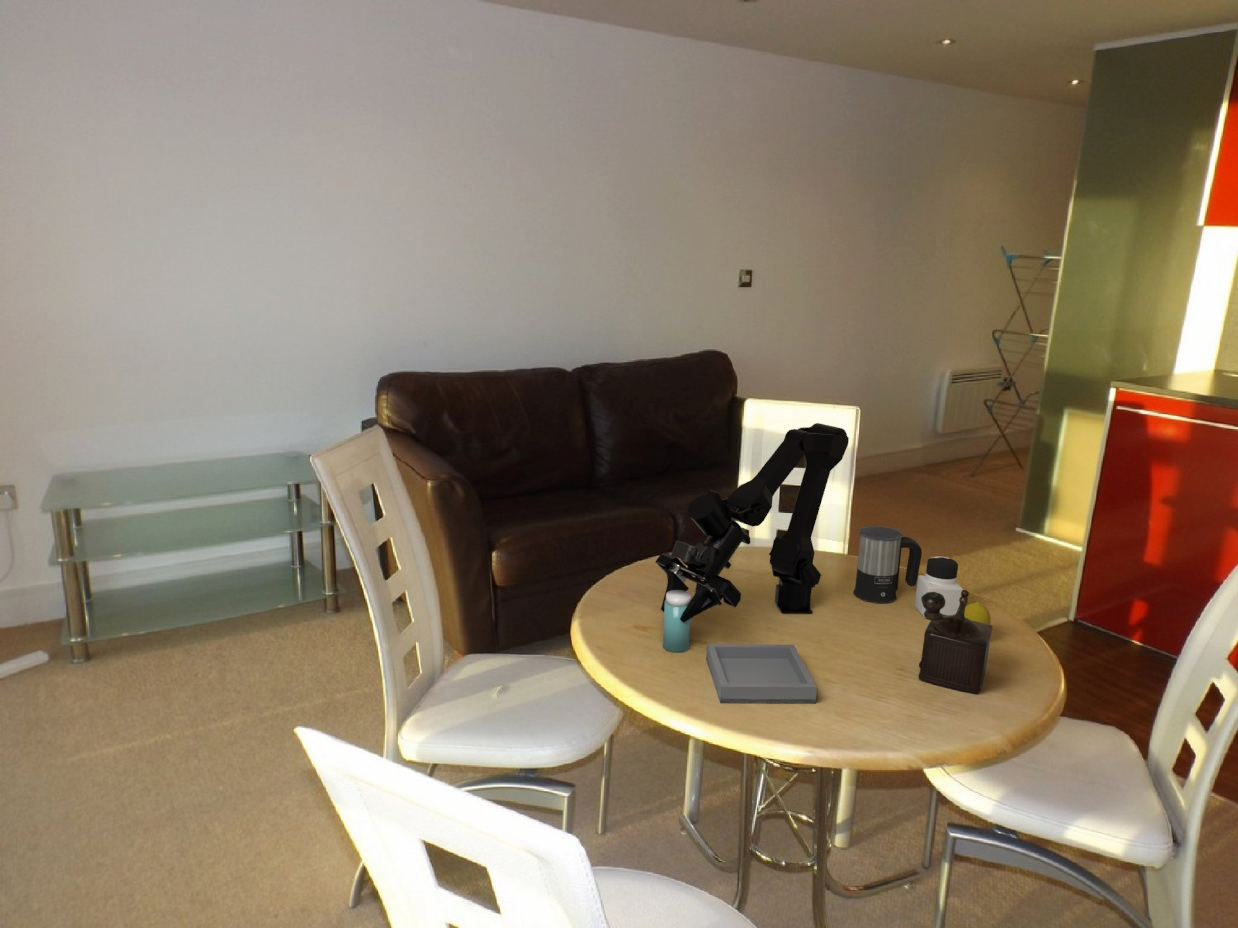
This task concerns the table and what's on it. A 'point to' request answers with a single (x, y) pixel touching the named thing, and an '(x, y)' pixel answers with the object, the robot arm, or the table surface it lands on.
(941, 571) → the medicine bottle
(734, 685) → the tray
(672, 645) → the ball
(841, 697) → the table surface
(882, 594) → the milk frother
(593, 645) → the table surface
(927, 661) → the manual coffee grinder
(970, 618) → the lemon
